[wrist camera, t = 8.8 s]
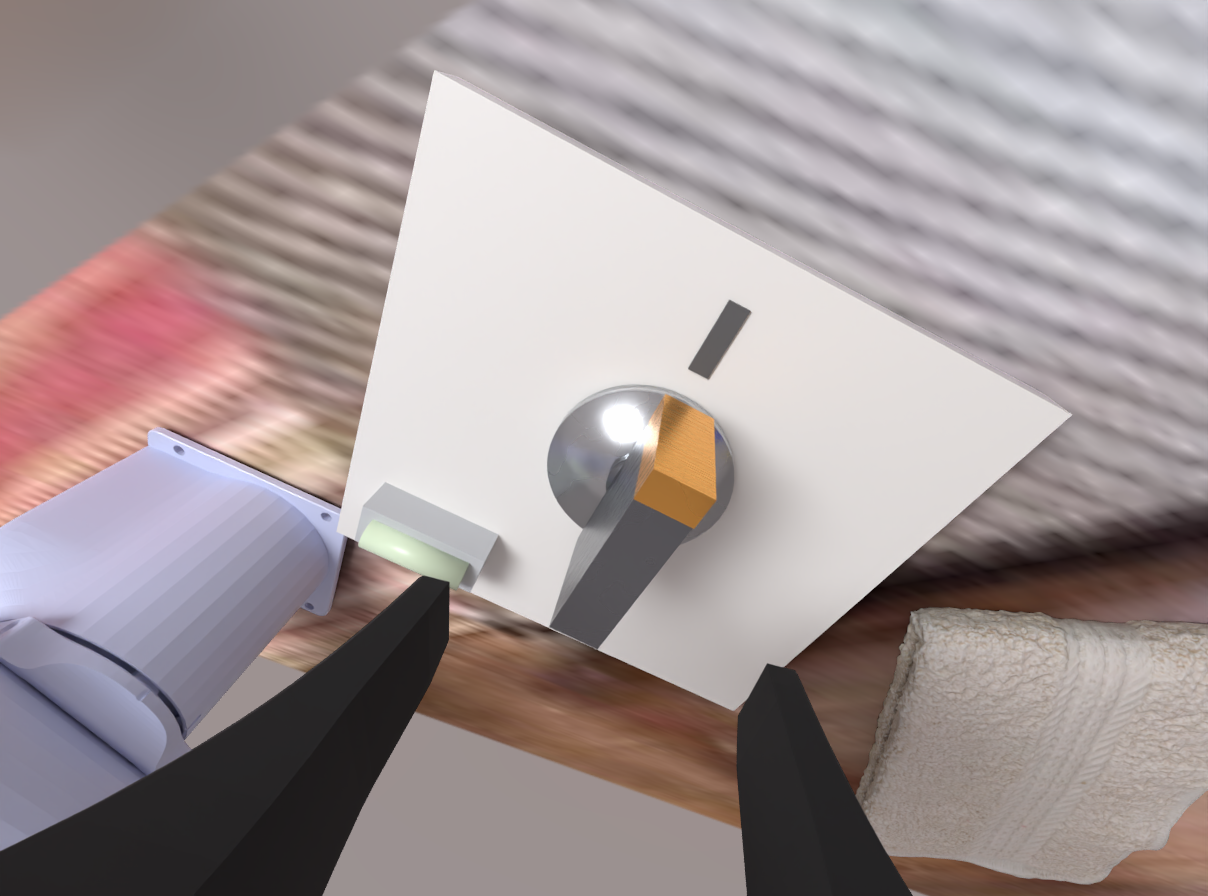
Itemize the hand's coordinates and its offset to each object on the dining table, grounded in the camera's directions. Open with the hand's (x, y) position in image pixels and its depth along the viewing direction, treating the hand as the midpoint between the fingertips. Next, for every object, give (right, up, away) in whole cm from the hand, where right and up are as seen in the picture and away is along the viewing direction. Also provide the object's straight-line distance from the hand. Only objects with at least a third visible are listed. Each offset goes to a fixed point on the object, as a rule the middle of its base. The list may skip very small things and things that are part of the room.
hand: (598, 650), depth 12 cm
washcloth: (+19, -9, +14) cm, 25 cm away
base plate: (+1, +4, +8) cm, 9 cm away
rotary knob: (+1, +4, +7) cm, 8 cm away
